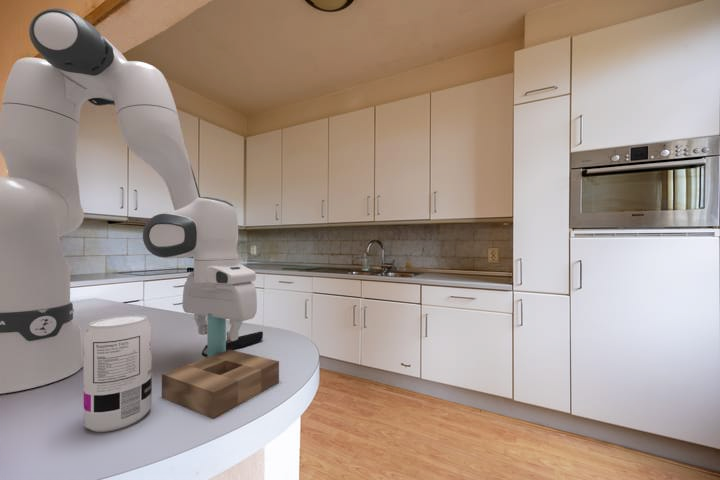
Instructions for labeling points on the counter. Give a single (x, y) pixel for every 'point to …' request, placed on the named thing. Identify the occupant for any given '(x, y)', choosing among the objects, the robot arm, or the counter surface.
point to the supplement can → (117, 372)
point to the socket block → (219, 381)
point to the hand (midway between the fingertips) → (217, 336)
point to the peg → (215, 335)
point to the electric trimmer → (240, 342)
